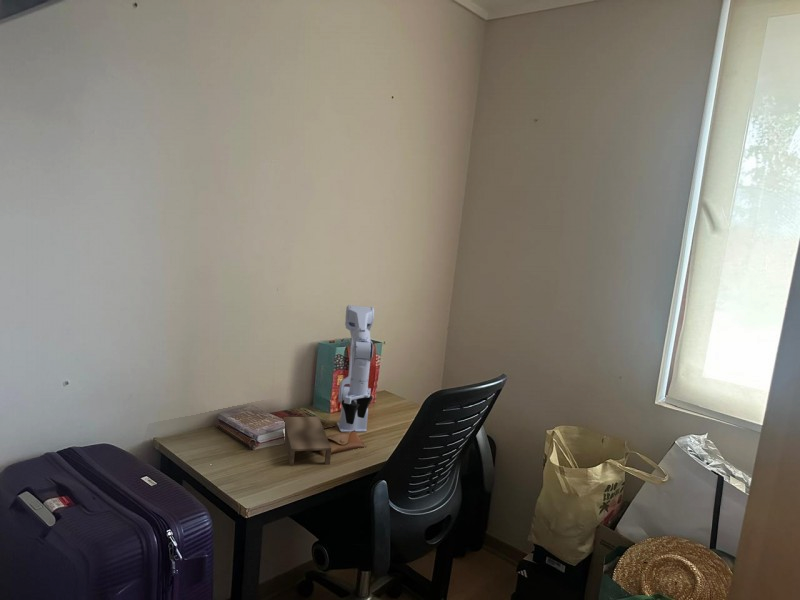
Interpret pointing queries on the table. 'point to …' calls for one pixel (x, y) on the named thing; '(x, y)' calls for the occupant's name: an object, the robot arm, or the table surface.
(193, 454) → the table surface
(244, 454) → the table surface
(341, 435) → the sunglasses case
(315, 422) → the miniature wooden table
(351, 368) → the robot arm
